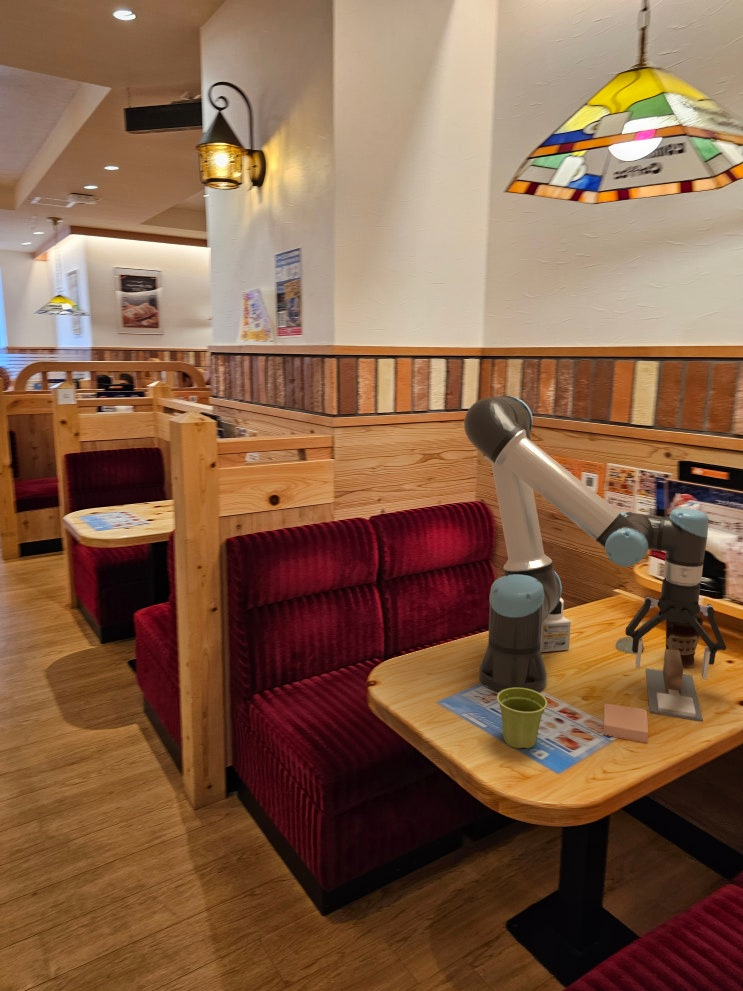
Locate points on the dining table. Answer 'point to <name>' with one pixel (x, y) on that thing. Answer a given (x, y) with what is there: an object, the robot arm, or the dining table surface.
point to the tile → (625, 722)
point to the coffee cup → (683, 639)
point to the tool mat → (657, 685)
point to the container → (555, 630)
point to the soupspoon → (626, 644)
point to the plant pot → (521, 715)
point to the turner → (674, 687)
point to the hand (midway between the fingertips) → (670, 671)
